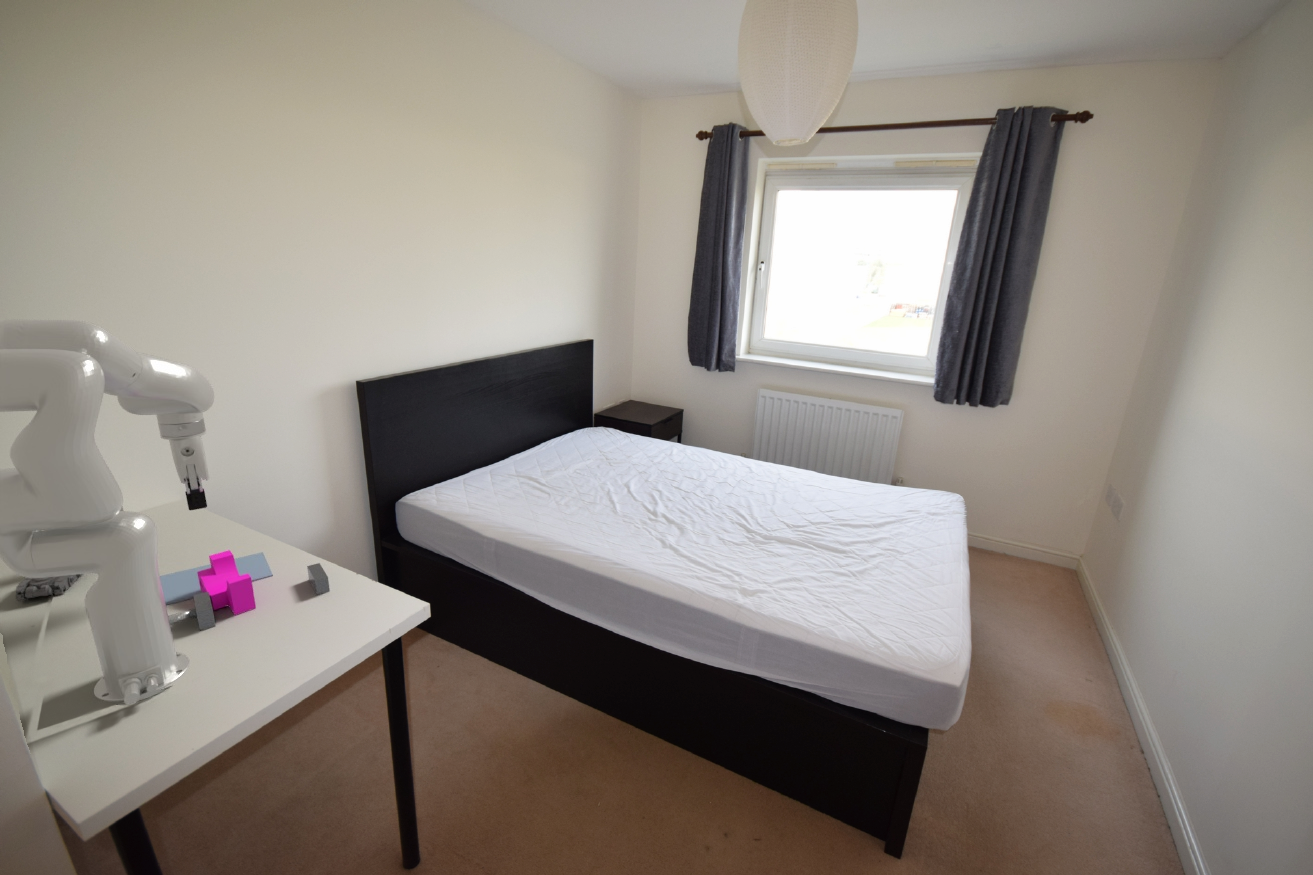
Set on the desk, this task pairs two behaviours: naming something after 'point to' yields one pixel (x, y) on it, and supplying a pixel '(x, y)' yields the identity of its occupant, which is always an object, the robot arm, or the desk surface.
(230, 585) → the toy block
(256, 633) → the desk surface
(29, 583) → the tank toy
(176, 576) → the rubber mat
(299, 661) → the desk surface
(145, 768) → the desk surface
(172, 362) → the robot arm
